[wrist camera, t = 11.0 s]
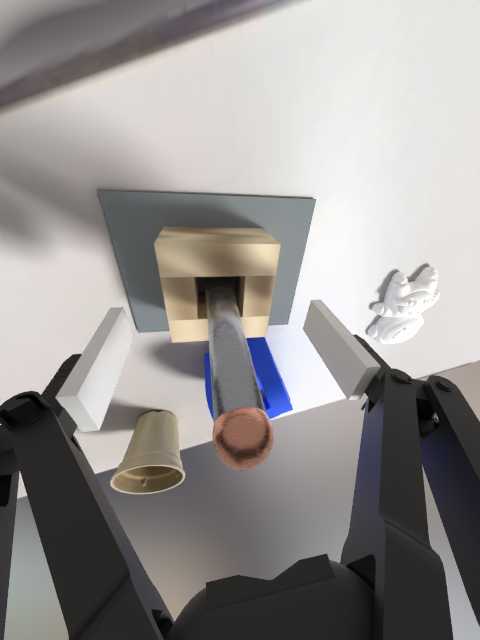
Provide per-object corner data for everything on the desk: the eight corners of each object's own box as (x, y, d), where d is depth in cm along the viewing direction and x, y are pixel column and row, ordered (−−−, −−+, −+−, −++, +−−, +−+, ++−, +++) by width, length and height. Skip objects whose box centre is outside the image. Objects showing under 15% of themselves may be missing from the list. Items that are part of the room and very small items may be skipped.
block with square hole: (176, 312, 24) (171, 342, 20) (163, 226, 18) (153, 243, 14) (255, 309, 25) (266, 336, 21) (264, 228, 20) (280, 244, 16)
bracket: (204, 353, 29) (206, 416, 21) (262, 331, 28) (283, 388, 21) (248, 414, 39) (259, 470, 32) (290, 399, 39) (311, 453, 31)
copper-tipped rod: (204, 286, 22) (215, 485, 9) (202, 262, 21) (213, 459, 7) (228, 285, 23) (276, 474, 9) (229, 262, 21) (287, 448, 8)
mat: (139, 330, 25) (138, 332, 24) (98, 190, 16) (97, 190, 16) (287, 322, 27) (287, 324, 27) (314, 198, 19) (316, 199, 19)
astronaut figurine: (448, 261, 26) (474, 271, 24) (408, 335, 33) (424, 348, 31) (382, 270, 25) (401, 281, 23) (355, 343, 33) (368, 357, 30)
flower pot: (140, 397, 32) (123, 462, 25) (197, 410, 36) (197, 468, 29) (119, 429, 35) (100, 493, 29) (173, 437, 40) (168, 495, 33)
